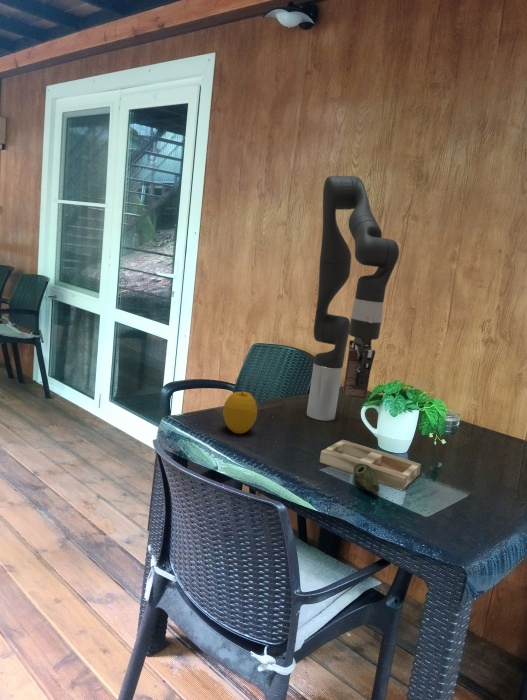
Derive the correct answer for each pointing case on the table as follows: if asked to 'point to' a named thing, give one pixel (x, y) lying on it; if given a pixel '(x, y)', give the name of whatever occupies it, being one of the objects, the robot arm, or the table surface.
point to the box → (354, 378)
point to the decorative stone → (366, 477)
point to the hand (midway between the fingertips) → (355, 384)
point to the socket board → (371, 463)
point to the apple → (240, 412)
